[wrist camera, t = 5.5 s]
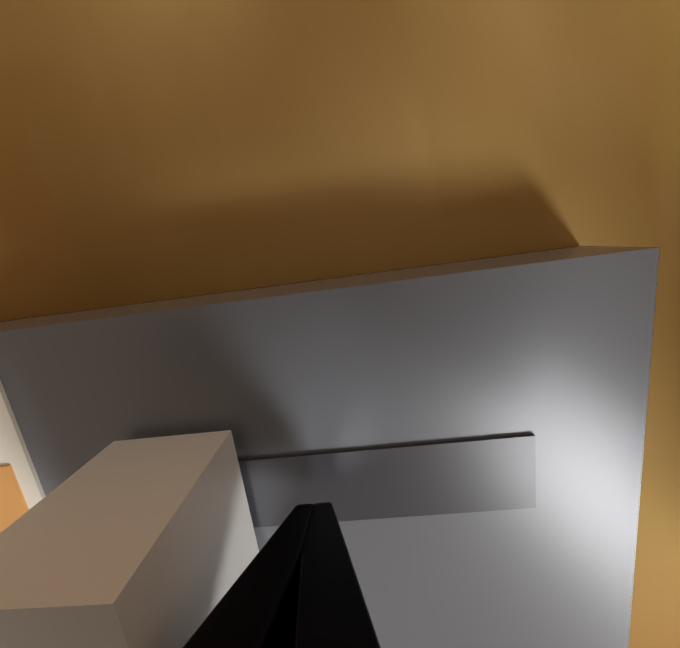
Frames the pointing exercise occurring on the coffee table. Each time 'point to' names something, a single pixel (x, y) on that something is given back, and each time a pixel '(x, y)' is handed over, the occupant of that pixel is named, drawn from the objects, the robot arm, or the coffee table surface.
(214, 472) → the slider
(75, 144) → the coffee table surface
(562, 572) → the switch panel
